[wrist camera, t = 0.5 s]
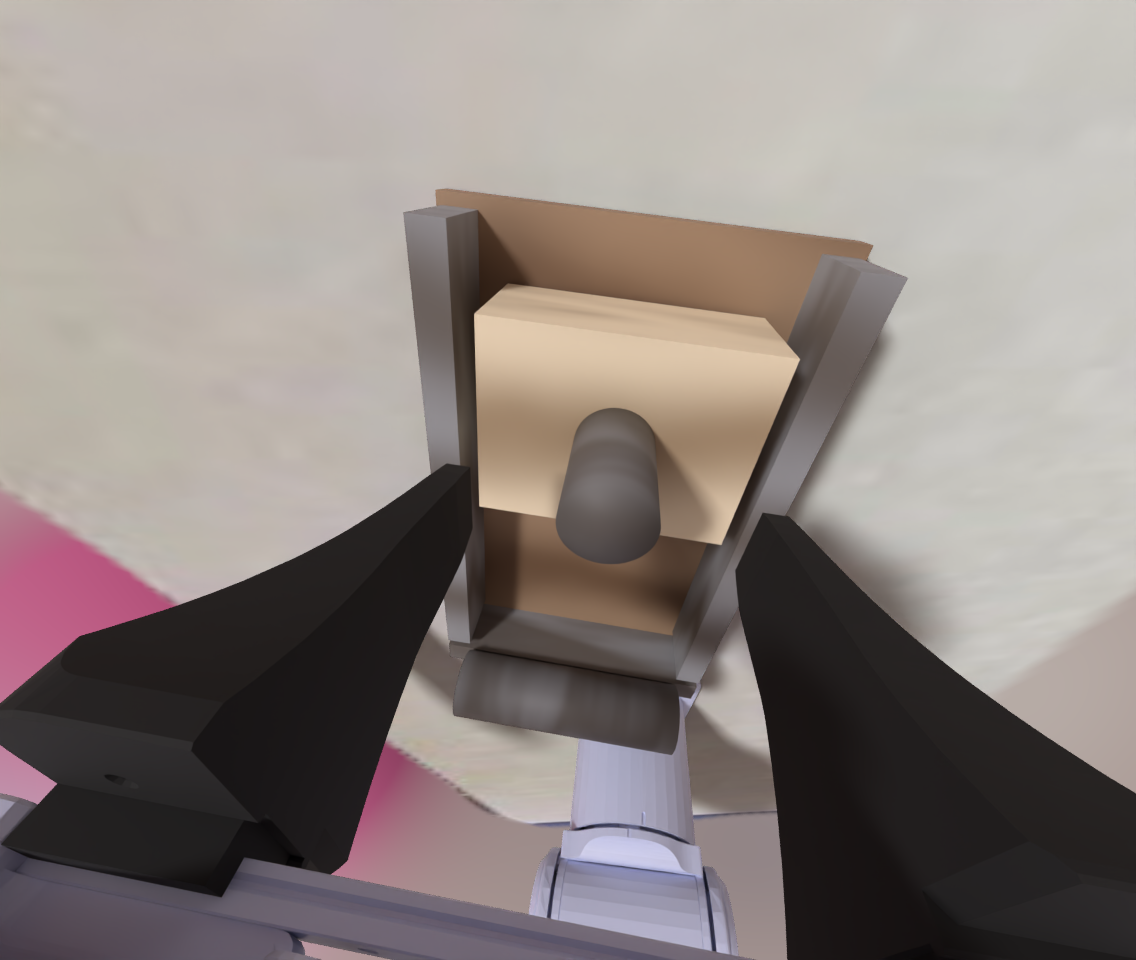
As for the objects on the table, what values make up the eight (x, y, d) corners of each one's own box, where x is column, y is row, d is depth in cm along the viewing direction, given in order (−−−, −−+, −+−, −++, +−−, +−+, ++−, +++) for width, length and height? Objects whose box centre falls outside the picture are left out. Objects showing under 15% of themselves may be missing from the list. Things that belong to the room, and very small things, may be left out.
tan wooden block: (707, 481, 19) (743, 640, 13) (505, 450, 20) (440, 589, 13) (764, 318, 15) (861, 431, 9) (507, 283, 15) (415, 366, 9)
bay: (683, 646, 28) (695, 771, 22) (469, 609, 29) (426, 722, 23) (860, 240, 14) (1011, 290, 9) (446, 188, 15) (326, 201, 9)
